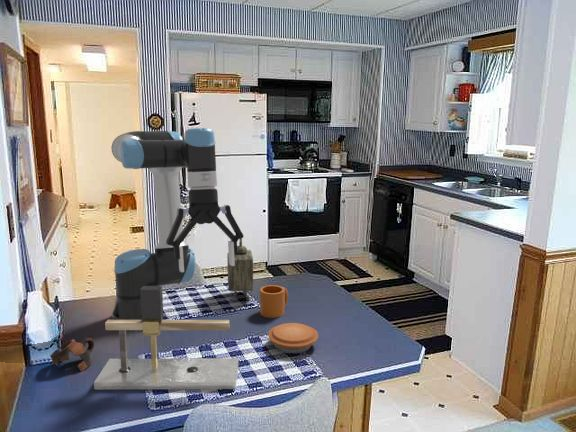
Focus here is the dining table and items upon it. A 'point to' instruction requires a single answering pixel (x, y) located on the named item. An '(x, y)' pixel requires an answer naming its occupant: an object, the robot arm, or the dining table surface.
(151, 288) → the block
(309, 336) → the pie
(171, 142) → the robot arm
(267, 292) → the mug
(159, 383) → the hole plate
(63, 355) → the broken clay pot
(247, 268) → the tabletop clock
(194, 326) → the bar
